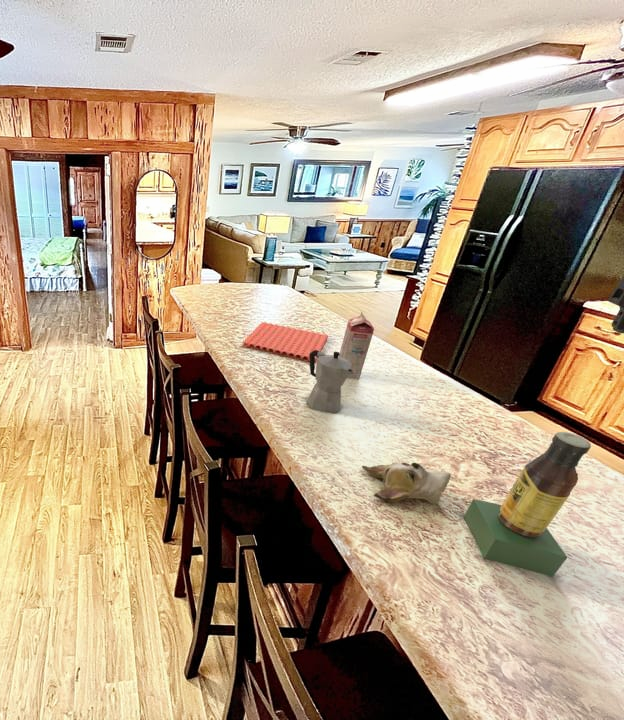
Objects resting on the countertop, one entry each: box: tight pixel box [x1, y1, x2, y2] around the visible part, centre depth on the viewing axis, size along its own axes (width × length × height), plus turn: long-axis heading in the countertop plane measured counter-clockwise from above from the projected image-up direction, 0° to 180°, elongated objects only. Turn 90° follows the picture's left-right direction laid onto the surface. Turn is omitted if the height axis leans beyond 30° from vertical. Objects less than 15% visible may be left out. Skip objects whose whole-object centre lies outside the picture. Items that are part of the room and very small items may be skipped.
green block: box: [463, 498, 568, 577], centre depth 71 cm, size 10×10×6 cm
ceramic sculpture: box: [361, 462, 452, 504], centre depth 83 cm, size 11×9×15 cm
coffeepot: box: [306, 350, 355, 414], centre depth 113 cm, size 15×9×18 cm, turn 23°
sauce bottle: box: [498, 431, 592, 537], centre depth 66 cm, size 7×6×20 cm
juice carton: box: [338, 311, 375, 380], centre depth 131 cm, size 7×7×22 cm
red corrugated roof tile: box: [241, 321, 329, 364], centre depth 159 cm, size 28×28×2 cm
